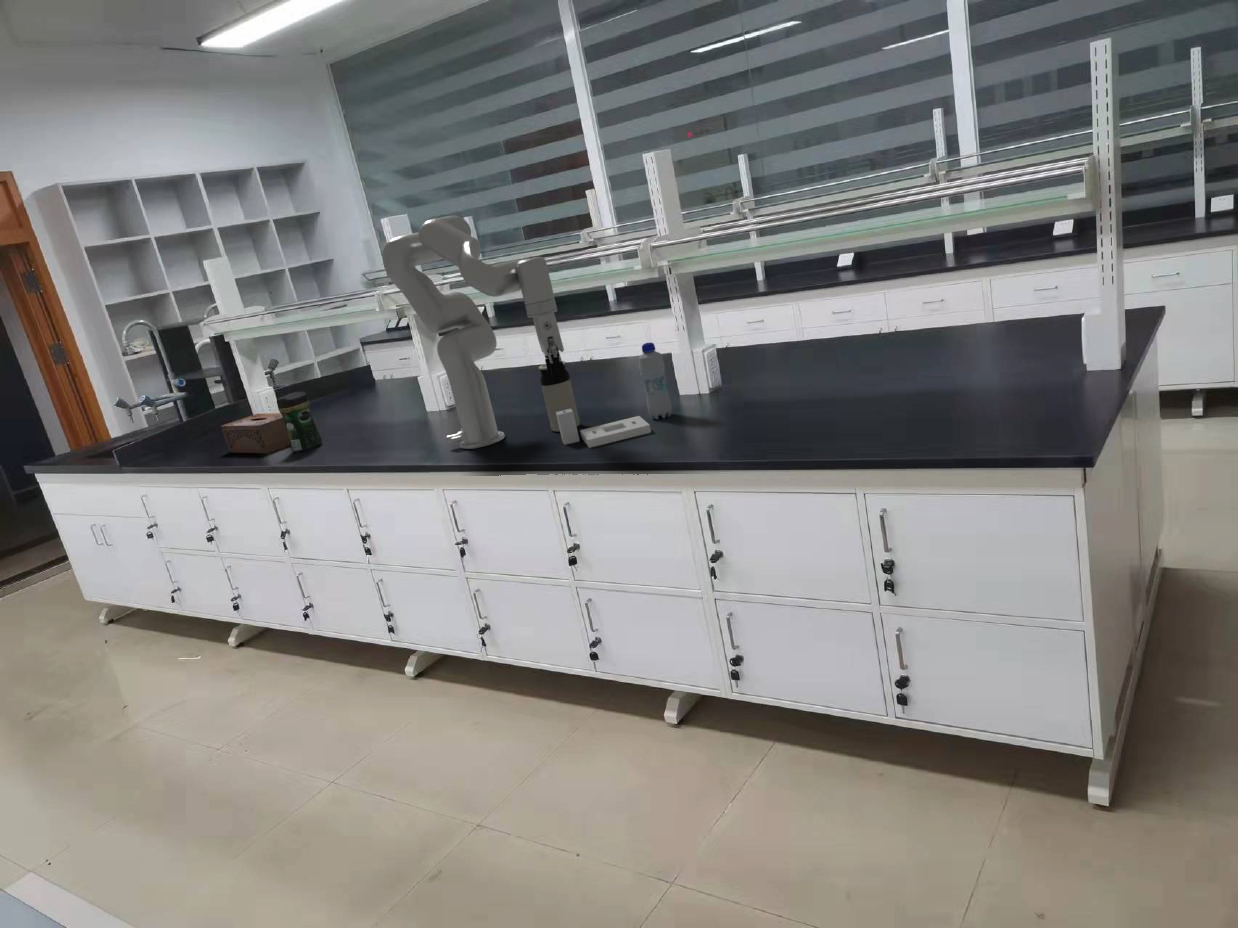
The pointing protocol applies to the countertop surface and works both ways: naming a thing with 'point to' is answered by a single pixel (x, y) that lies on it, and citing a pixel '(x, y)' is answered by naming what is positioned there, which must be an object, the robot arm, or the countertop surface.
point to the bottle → (654, 382)
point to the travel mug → (557, 396)
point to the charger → (567, 426)
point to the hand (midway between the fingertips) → (557, 375)
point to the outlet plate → (615, 431)
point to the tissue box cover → (256, 434)
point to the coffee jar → (299, 421)
